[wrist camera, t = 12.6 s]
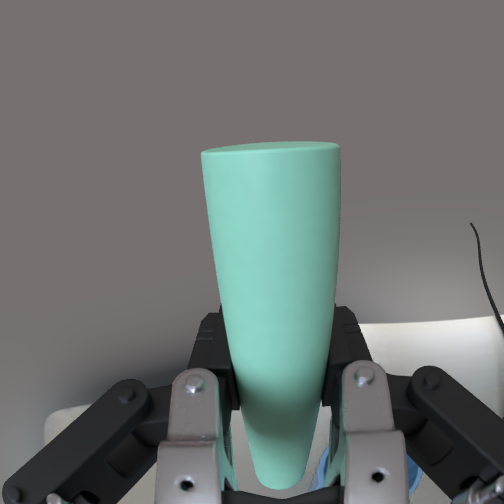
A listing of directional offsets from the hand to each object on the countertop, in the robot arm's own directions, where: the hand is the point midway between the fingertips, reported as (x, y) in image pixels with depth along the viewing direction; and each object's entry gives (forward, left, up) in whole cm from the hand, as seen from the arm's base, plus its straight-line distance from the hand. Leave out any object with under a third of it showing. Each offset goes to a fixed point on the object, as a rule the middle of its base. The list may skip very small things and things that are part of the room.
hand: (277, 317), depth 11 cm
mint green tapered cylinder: (+2, +2, -10) cm, 10 cm away
